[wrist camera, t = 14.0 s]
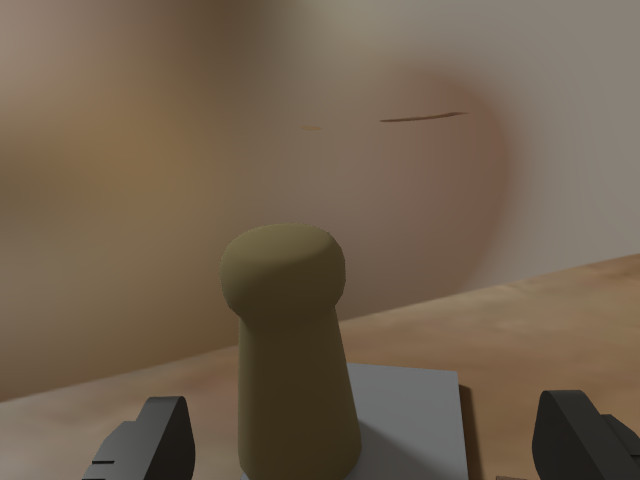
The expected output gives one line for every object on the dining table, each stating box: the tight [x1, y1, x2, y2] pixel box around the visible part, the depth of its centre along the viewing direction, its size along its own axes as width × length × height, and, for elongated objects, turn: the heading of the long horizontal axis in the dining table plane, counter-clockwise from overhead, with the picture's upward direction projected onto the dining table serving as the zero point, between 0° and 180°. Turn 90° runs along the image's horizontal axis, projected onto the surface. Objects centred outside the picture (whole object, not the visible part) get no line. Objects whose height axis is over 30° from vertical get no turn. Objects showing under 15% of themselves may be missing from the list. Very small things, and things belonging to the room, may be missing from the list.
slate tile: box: [240, 363, 468, 480], centre depth 24 cm, size 10×10×1 cm
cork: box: [219, 223, 362, 480], centre depth 21 cm, size 6×6×11 cm
